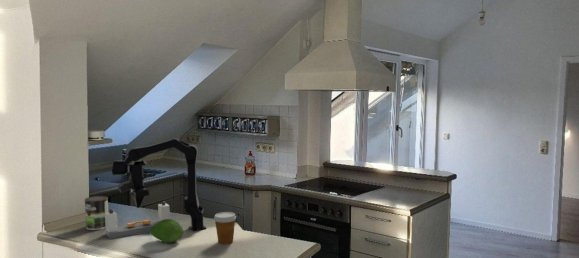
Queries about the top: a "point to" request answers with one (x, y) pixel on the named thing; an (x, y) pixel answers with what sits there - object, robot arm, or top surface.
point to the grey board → (131, 230)
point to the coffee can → (96, 212)
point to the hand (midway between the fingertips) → (138, 207)
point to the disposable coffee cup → (225, 227)
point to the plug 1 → (111, 221)
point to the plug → (163, 211)
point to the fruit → (167, 231)
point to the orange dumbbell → (138, 222)
